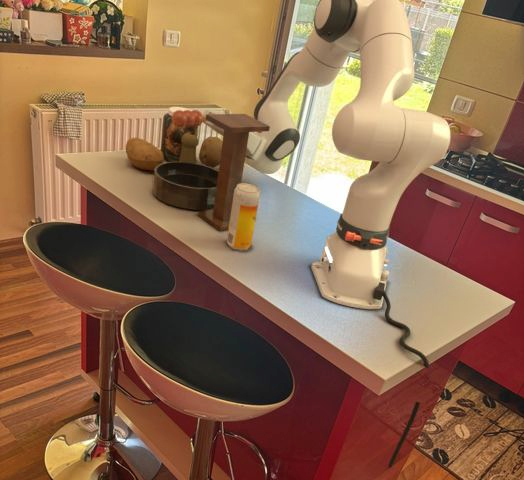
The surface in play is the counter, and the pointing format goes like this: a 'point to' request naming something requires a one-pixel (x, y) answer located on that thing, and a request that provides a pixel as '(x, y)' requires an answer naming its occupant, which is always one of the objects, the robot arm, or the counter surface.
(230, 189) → the walnut stand
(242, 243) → the beer can
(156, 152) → the potato
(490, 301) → the counter surface
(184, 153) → the cork
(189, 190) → the round cake pan
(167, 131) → the jar
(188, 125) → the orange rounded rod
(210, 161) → the round brown potato
